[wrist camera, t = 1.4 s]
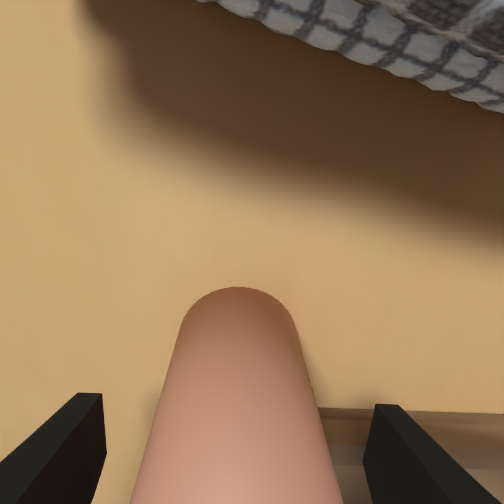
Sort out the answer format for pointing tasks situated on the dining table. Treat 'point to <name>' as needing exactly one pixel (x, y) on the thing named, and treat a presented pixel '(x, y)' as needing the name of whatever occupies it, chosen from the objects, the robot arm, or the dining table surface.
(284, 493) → the dowel
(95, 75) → the dining table surface
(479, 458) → the tray
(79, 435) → the robot arm
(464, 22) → the towel
